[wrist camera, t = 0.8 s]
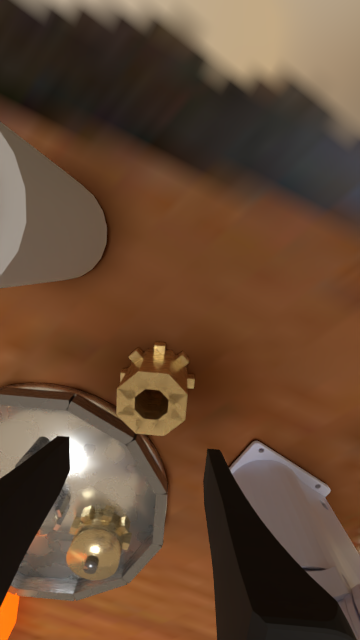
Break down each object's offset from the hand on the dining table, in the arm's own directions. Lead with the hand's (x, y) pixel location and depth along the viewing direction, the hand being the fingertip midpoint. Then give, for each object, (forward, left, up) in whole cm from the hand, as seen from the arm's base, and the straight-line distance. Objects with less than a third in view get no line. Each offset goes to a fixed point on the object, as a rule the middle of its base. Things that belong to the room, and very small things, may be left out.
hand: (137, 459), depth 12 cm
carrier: (+2, +17, -10) cm, 20 cm away
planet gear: (0, 0, -10) cm, 10 cm away
